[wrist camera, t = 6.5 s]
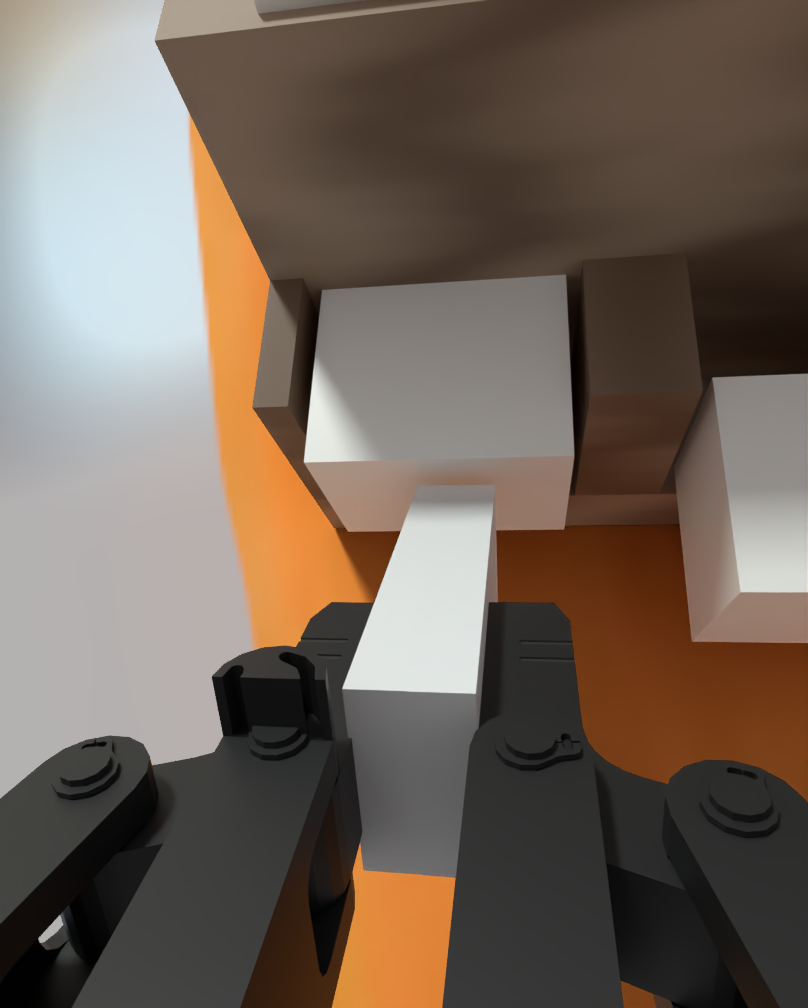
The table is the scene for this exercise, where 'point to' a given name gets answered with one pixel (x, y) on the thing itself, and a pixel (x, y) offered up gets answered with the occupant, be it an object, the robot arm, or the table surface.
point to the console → (524, 190)
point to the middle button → (747, 511)
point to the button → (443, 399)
